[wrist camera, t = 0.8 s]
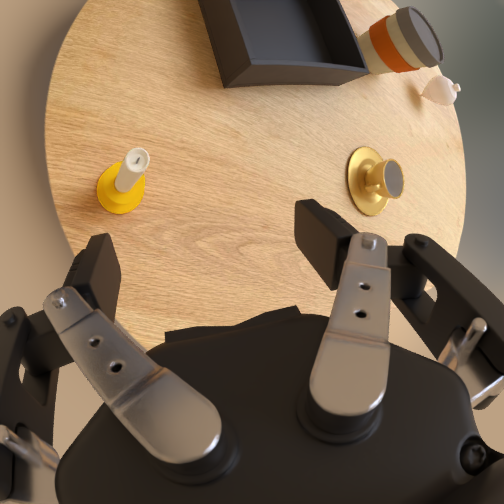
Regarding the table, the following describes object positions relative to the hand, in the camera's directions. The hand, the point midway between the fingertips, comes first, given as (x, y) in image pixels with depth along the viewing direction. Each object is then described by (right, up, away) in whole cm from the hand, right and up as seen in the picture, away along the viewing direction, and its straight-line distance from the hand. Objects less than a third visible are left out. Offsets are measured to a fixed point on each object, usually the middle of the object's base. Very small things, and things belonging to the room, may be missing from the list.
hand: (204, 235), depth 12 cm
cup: (+22, +11, +35) cm, 42 cm away
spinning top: (+43, +38, +44) cm, 72 cm away
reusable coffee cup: (+25, +39, +34) cm, 57 cm away
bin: (+5, +33, +22) cm, 41 cm away
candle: (-12, +6, +16) cm, 21 cm away
